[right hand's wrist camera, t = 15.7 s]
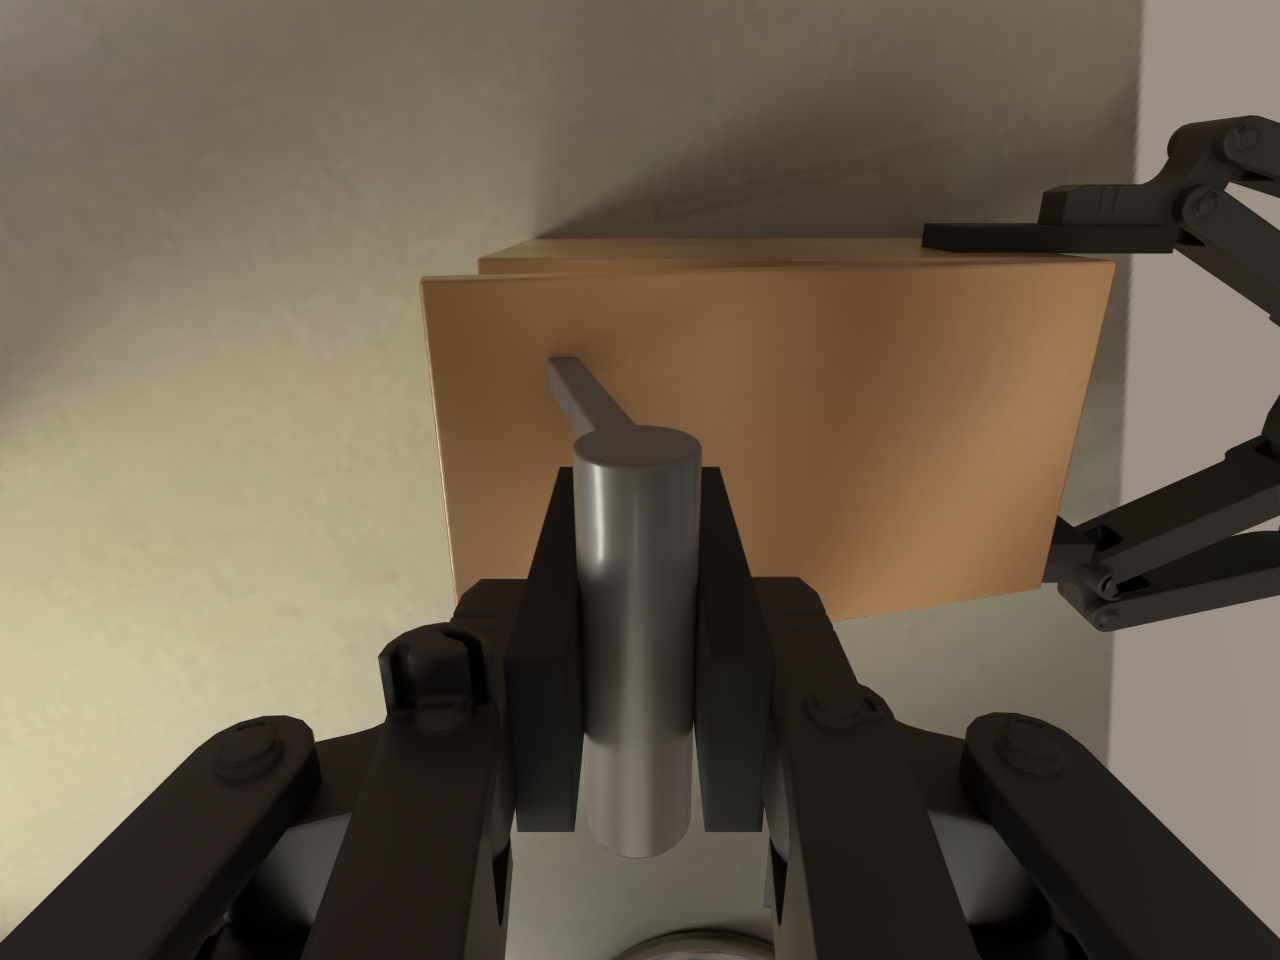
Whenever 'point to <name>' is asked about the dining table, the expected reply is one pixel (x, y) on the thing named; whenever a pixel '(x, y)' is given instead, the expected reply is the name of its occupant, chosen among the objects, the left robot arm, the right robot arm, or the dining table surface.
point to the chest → (720, 254)
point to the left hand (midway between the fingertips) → (914, 399)
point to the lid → (752, 457)
